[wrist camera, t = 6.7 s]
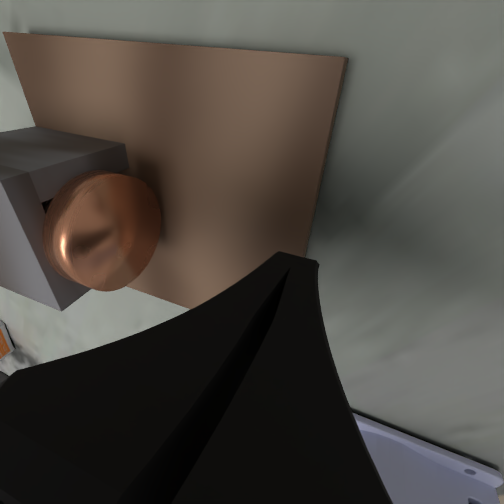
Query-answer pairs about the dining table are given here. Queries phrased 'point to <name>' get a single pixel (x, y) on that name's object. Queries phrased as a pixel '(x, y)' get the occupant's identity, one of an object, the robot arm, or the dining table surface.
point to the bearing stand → (169, 154)
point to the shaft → (101, 229)
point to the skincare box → (4, 342)
